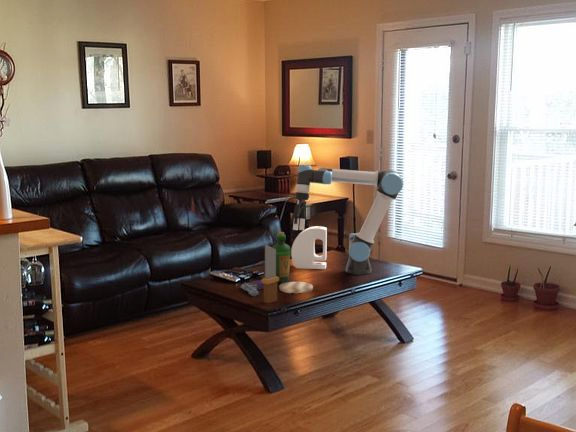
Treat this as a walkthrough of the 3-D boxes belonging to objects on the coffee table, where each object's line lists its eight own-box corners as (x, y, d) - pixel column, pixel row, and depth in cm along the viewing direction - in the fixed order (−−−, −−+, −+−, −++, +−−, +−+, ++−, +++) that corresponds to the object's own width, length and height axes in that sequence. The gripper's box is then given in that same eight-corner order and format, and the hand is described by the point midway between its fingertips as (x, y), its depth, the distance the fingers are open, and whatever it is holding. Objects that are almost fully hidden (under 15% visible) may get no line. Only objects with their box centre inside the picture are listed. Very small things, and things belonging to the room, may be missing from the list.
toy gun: (276, 294, 346) (250, 298, 340) (263, 285, 362) (237, 289, 357) (276, 287, 345) (249, 291, 339) (263, 278, 362) (237, 282, 356)
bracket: (325, 269, 397) (326, 228, 393) (291, 267, 400) (291, 227, 396) (326, 266, 404) (327, 226, 400) (292, 265, 406) (293, 225, 402)
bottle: (288, 284, 364) (288, 234, 359) (269, 283, 366) (269, 234, 361) (292, 279, 374) (292, 231, 369) (274, 278, 376) (274, 230, 371)
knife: (267, 304, 329) (266, 245, 324) (261, 302, 331) (261, 244, 326) (278, 300, 335) (278, 242, 330) (273, 298, 337) (273, 241, 332)
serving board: (312, 284, 364) (312, 281, 364) (313, 293, 347) (313, 290, 346) (279, 284, 364) (279, 281, 364) (279, 293, 346) (279, 290, 346)
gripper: (301, 193, 384) (297, 229, 384) (290, 190, 360) (285, 229, 360) (313, 194, 382) (310, 230, 382) (303, 191, 358) (299, 230, 358)
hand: (298, 230), depth 371 cm, fingers open, 13 cm apart
